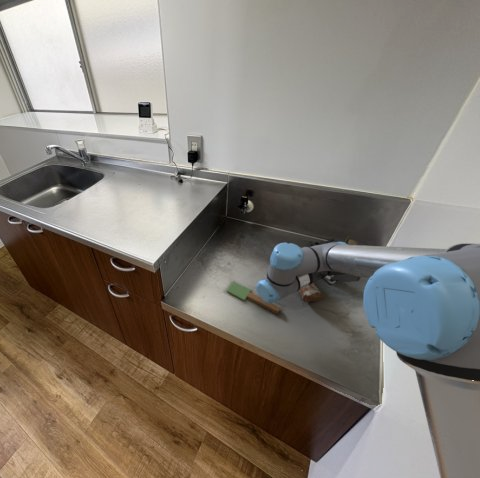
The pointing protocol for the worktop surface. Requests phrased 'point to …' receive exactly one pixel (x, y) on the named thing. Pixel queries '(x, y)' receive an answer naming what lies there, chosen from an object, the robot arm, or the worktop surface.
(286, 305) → the worktop surface
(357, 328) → the worktop surface
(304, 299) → the reddish brown tapered cylinder
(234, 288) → the spatula
